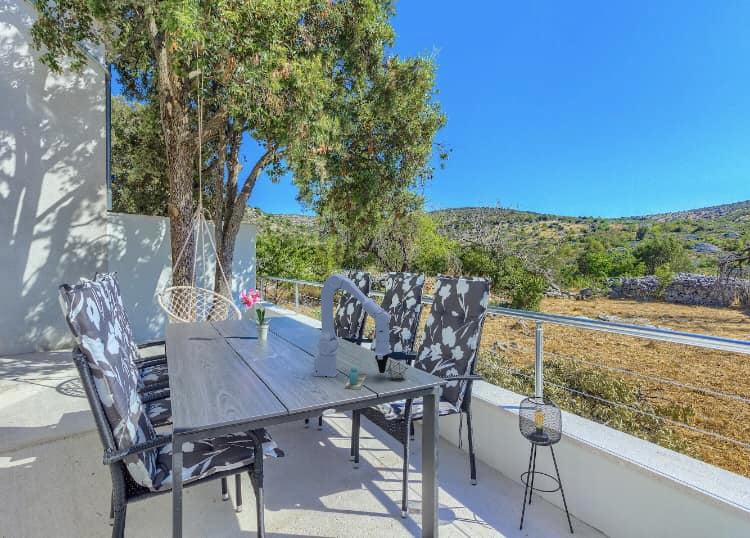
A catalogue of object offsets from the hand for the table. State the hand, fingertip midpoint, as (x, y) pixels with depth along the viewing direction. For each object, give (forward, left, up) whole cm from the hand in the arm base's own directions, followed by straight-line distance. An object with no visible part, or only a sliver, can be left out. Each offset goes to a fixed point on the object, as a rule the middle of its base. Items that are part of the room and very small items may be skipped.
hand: (382, 372), depth 167 cm
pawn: (-9, -14, -1) cm, 17 cm away
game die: (+6, 0, -3) cm, 7 cm away
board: (-9, -7, -2) cm, 12 cm away
